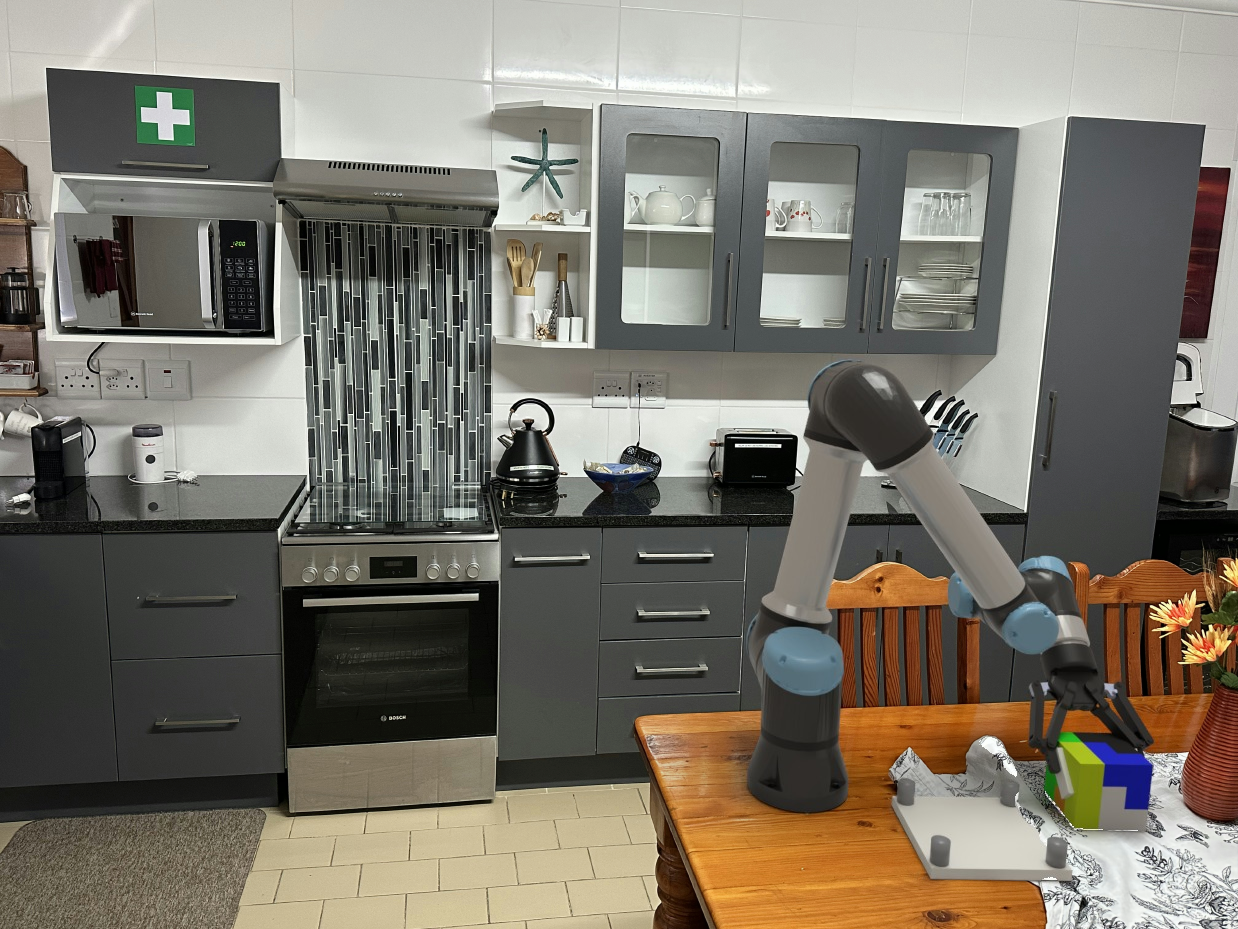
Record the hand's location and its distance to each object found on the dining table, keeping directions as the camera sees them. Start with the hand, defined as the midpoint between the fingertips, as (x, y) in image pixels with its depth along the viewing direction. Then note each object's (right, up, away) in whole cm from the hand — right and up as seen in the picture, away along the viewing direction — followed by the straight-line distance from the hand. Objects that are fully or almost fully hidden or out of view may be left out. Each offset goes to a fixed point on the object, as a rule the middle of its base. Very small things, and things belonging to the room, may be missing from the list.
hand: (1106, 796), depth 134 cm
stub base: (-20, -5, -4) cm, 21 cm away
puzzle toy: (0, -4, +4) cm, 5 cm away
